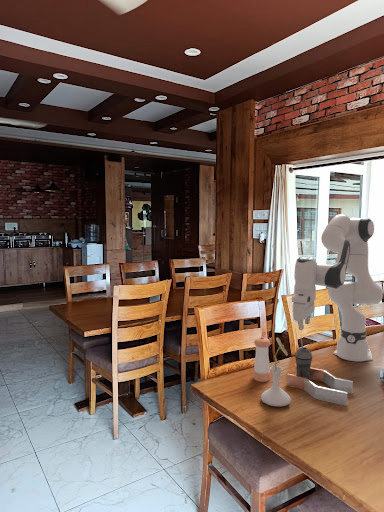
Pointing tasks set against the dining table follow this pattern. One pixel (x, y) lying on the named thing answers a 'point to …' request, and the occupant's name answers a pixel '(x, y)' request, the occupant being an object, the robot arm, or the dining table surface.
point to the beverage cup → (303, 361)
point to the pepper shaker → (261, 360)
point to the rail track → (330, 395)
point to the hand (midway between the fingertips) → (304, 326)
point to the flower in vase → (276, 385)
